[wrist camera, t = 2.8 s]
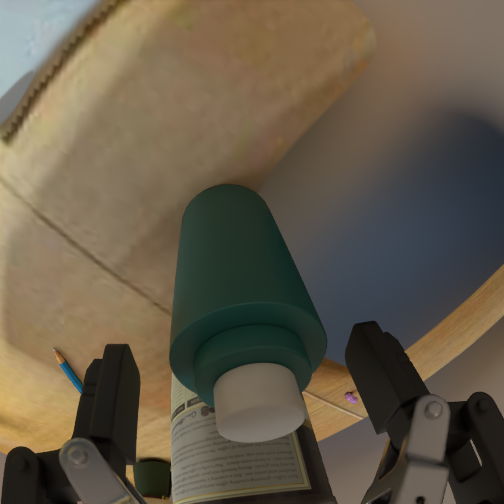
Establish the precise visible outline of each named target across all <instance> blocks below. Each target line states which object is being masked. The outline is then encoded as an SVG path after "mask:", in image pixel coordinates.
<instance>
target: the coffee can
mask: <svg viewBox="0 0 504 504" xmlns="http://www.w3.org/2000/svg"><path fill="white" fill-rule="evenodd" d="M300 396H301V399H302V402H303V406H304V409H305V413H306V416H305V420H304V422H303V423H302V425H301V426H299V427H298V428H297V429H296V430H294V431H293V432H291V433H289V434H287V435H285V436H282V437H279V438H276V439H272V440H268V441H262V442H251V443H248V442H237V441H232V440H229V439H226V438H224V437H223V436H221V435H220V433H219V432H218V430H217V426H216V415H215V408H212V407H210V406H208V405H207V404H205V403H204V402H203V401H202V400H201V399H200V398H199V397H198V395H197V394H196V393H194V392H192V391H190V390H189V389H187V388H186V387H185V386H183V385H182V384H181V383H180V382H179V381H178V379H177V378H176V377H175V375H174V373H173V372H172V392H171V475H172V495H173V504H337V501H336V498H335V496H333V494H332V490H331V487H330V484H329V482H328V477H327V474H326V471H325V468H324V464H323V461H322V457H321V454H320V451H319V448H318V444H317V441H316V438H315V434H314V431H313V428H312V424H311V421H310V418H309V414H308V411H307V408H306V405H305V401H304V398H303V395H302V393H301V394H300Z"/></svg>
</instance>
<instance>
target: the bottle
mask: <svg viewBox="0 0 504 504" xmlns="http://www.w3.org/2000/svg"><path fill="white" fill-rule="evenodd" d="M326 348H327V337H326V333H325V330H324V328H323V325H322V323H321V321H320V319H319V316H318V314H317V312H316V310H315V307H314V305H313V303H312V301H311V299H310V296H309V294H308V292H307V290H306V287H305V285H304V283H303V281H302V279H301V276H300V274H299V272H298V270H297V268H296V265H295V263H294V261H293V259H292V257H291V254H290V252H289V250H288V248H287V246H286V244H285V242H284V239H283V237H282V235H281V233H280V231H279V229H278V227H277V224H276V222H275V220H274V218H273V216H272V214H271V212H270V210H269V208H268V206H267V204H266V203H265V201H264V200H263V199H262V198H261V197H260V196H259V195H258V194H257V193H255V192H254V191H252V190H250V189H248V188H246V187H242V186H238V185H229V184H227V185H219V186H215V187H212V188H209V189H207V190H205V191H203V192H202V193H200V194H199V195H197V196H196V197H195V198H194V199H193V200H192V201H191V202H190V204H189V205H188V207H187V208H186V211H185V213H184V216H183V220H182V227H181V234H180V242H179V251H178V259H177V268H176V278H175V288H174V299H173V310H172V323H171V337H170V353H169V361H170V366H171V369H172V372H173V373H174V375H175V377H176V378H177V379H178V381H179V382H180V383H181V384H182V385H183V386H185V387H186V388H187V389H189V390H190V391H192V392H194V393H196V394H197V395H198V397H199V398H200V399H201V400H202V401H203V402H204V403H205V404H207V405H208V406H210V407H212V408H215V415H216V426H217V430H218V432H219V433H220V435H221V436H223V437H224V438H226V439H229V440H232V441H237V442H248V443H251V442H262V441H268V440H272V439H276V438H279V437H282V436H285V435H287V434H289V433H291V432H293V431H294V430H296V429H297V428H298V427H299V426H301V425H302V423H303V422H304V420H305V416H306V413H305V409H304V406H303V402H302V399H301V396H300V394H301V393H302V392H303V391H304V390H305V388H306V387H307V386H308V384H309V382H310V380H311V377H312V374H313V373H314V372H315V370H316V369H317V368H318V367H319V365H320V364H321V362H322V360H323V358H324V355H325V353H326Z"/></svg>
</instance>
